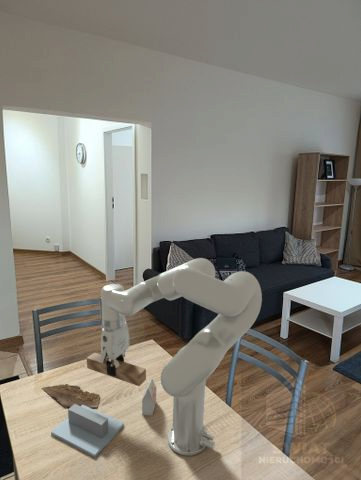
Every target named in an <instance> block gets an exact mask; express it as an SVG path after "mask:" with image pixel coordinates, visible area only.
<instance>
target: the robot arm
mask: <svg viewBox="0 0 361 480" xmlns="http://www.w3.org/2000/svg"><path fill="white" fill-rule="evenodd" d="M262 296H263V293H262V289H261V285H260V282H259V281H258V279H257V278H256V277H255V276H254V275H253V274H252V273H250V272H248V271H243V270H241V271H236V272H234V273H231V274H230V275H229V276H228V277H227V278H225V279H224V280H221V279H218V278H216V268H215V266H214V264H213V263H212V262H211V261H210V260H209V259H207V258H204V257H197V258H194V259H192V260H189V261H187V262H184V263H182V264H180V265H177V266H176V267H173V268H171V269H168V270H166V271H164V272H161V273H159V274H158V275H157V276H153V277H151V278H149V279H147V280H145V281H142V282H139V283H138V284H136V285H133V286H132V287H130V288H128V289H126V290H125V288H124V286H123V285H122V284H118V283H110V284H106V285H103V287H102V288H101V290H100V299H101V301H100V303H101V321H102V323H101V324H102V325H101V327H102V328H101V335H100V336H101V337H100V352H101V353H100V354H101V355H102V357H101V360H100V363H102V364H106V365H107V374H108V375H111V376H113V377H112V378H114V376H116V371H115V365H114V359H116V360H120V361H123V362H125V358H126V351H127V350H128V349H129V348H130V346H131V345H130V333H129V328H128V327H129V326H128V323H127V321H126V317H130V316H133V315H135V314H137V313H138V312H139V311H141V310H143V309H144V308H146V307H147V306H148V305H151V304H152V303H154V302H157V301H159V300H161V299H166V300H168V301H174V300H176V299H179V298H184V299H186V300H188V301H190V302H191V303H194V304H196V305H199V306H200V307H203V308H205V309H207V310H210V311H211V312H214V313H216V314H217V316H216V317H214V319H213V320H211V322H210V323H209V324H207V325H206V326H205V327H204V328H202V329H201V330H200V331H198V333H196V334H195V335H194V337H192V339H191V340H190V341H189V342H188V343H187V344H186V345H184V346H183V347H181V348H180V349H179V350H178V351H177V353H175V355H173V357H172V358H171V359H170V360H169V361H168V362H167V364H166V365H164V366H163V369H162V371H161V374H160V383H161V386H162V389H163V390H164V392H165V393H166V394H168V395H169V396H172V397H173V401H172V402H173V403H172V404H173V408H172V409H173V410H172V426H171V427H170V428H169V430H168V432H167V443H168V445H169V447H170V448H171V450H172V451H173V452H175V453H177V454H179V455H182V456H187V457H189V456H195V455H198V454H200V453H202V452H203V451H204V450H205V448H206V447H207V448H208V449H211V450H214V449H215V445H216V443H215V441H214V439H215V438H214V437H215V435H212V434H209V433H208V432H207V427H206V426H205V425H204V417H205V398H206V397H205V395H206V384H207V379H208V378H210V376H211V375H212V374H213V373H214V371H215V370H216V369H217V368H218V366H219V365H220V363H221V362H222V360H223V359H224V357H225V355H226V353H227V352H228V351H229V350H230V349H231V348H232V347H233V346H234V345H235V344H236V343H238V341H239V340H240V339H241V338H242V337H243V336H244V335H245V334H246V333H247V332H248V331H249V330H250V329H251V327H252V326H253V325H254V323H255V322H256V320H257V318H258V316H259V314H260V311H261V307H262V302H263V297H262ZM109 359H111V362H110V361H109ZM108 375H107V376H108ZM111 376H110V377H111Z"/></svg>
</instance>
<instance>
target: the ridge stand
mask: <svg viewBox="0 0 361 480" xmlns="http://www.w3.org/2000/svg"><path fill="white" fill-rule="evenodd" d="M67 414H68V415H67V418H65V419H64V420H63V421H62V422H61V423H59V424H58V425H57V426H56V427H55V428H53V429H52V430H51V431H50V434H51V436H53V437H56V438H57V439H59V440H60V441H63V442H65V443H66V444H69V445H70V446H72V447H74V448H76V449H77V450H80V451H82V452H84V453H85V454H88V455H89V456H91V457H93V458H96V457H97V456H98V455H99V454H100V453H101V451H102V450H104V448H105V447H106V446H107V445H108V444H109V443H110V442H111V441H112V439H113V438H114V437H115V436H116V435H117V434H118V433H119V432H120V431H121V430H122V429H123V427H124V426H125V423H124V422H122V421H120V420H118V419H115V418H114V417H111V416H109V415H107V414H105V413H102V412H100V411H98V410H96V409H94V408H92V407H87V406H85V405H82V406H79V405H76V404H74V405H73V406H71V407H68V409H67Z"/></svg>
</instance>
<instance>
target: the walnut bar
mask: <svg viewBox="0 0 361 480" xmlns="http://www.w3.org/2000/svg"><path fill="white" fill-rule="evenodd" d="M101 357H102V354H101V353H97V352H93V353H91V354H90V355H89V356H87V357H86V367H87V369H89V370H90V371H91V370H92V371H95V372H96V373H97V372H98V373H100V374H103V375H106V376H107V377H112V378H114V379H117V380H121V381H122V382H123V381H124V382H126V383H129V384H131V385H134V386H138V387H140V386H141V385H142V384H143V383H144V382H145V381H146V380H147V368H145V367H141V366H138V365H135V364H133V363H129V362H126V361H124V362H123V361H120V360H116V359H114V365H115V371H116V376H114V377H113V376H111V375H108V374H107V365H106V364H102V363H100V360H101ZM109 361H110V362H111V359H109Z"/></svg>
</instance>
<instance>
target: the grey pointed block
mask: <svg viewBox="0 0 361 480" xmlns="http://www.w3.org/2000/svg"><path fill="white" fill-rule="evenodd" d="M156 405H157V386H156V384H155V382H154V379H153V378H150V380H149V382H148V383H147V385H146V388H145V390H144V394H143V397H142V399H141V406H142V407H141V409H142V410H141V412H142V413H141V415H144V416H153V415H154V411H155V409H156Z"/></svg>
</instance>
